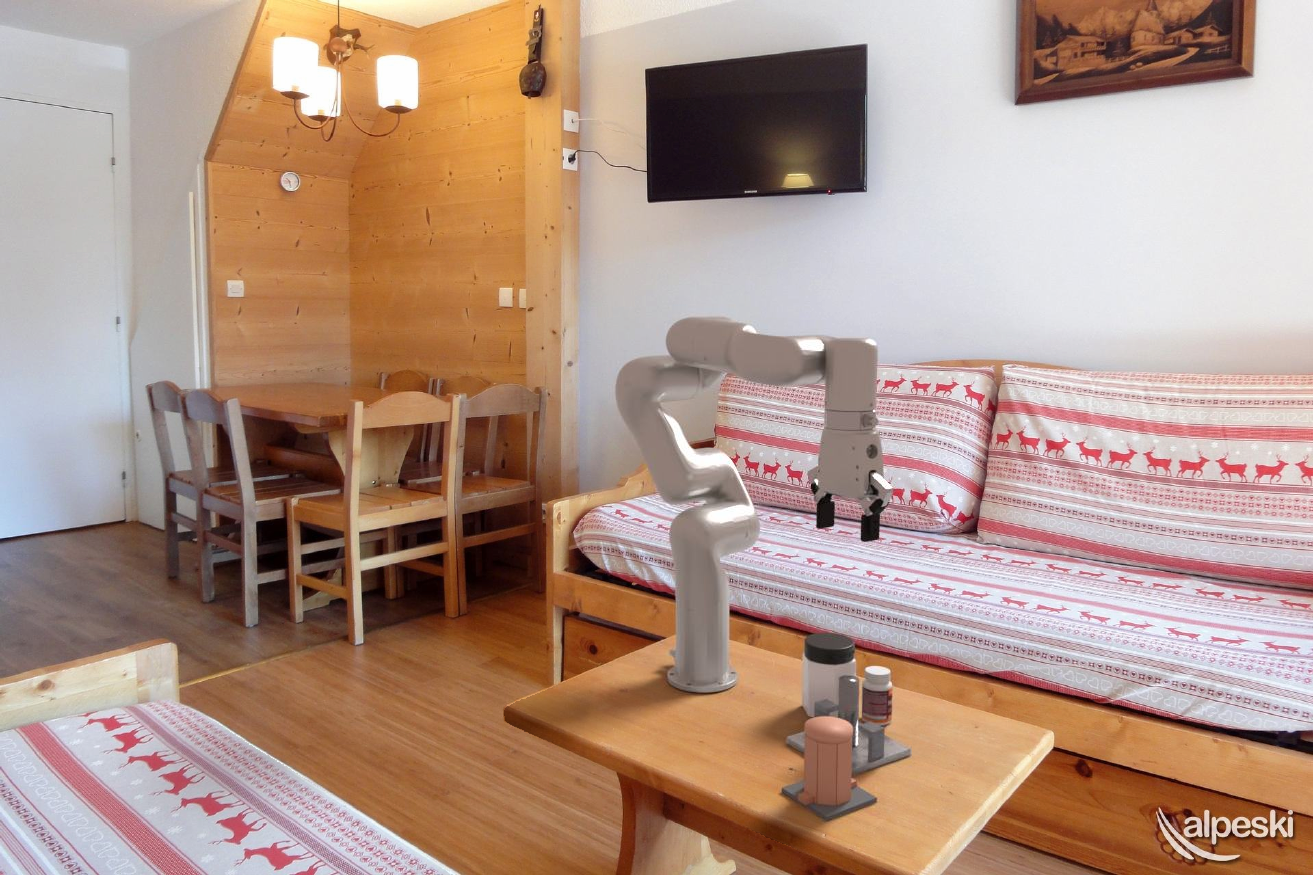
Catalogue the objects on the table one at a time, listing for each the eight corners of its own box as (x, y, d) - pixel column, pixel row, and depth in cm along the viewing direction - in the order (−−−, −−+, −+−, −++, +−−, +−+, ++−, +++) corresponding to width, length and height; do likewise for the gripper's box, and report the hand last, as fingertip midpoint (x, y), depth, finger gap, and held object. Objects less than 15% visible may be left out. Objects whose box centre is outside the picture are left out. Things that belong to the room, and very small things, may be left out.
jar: (825, 725, 149) (826, 653, 148) (791, 708, 156) (792, 638, 154) (865, 712, 154) (867, 642, 153) (830, 695, 161) (831, 628, 159)
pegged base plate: (786, 743, 143) (787, 674, 142) (849, 722, 150) (850, 657, 149) (845, 778, 132) (847, 703, 131) (910, 754, 139) (912, 683, 138)
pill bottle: (894, 726, 149) (896, 675, 148) (864, 726, 149) (865, 675, 148) (888, 713, 154) (889, 664, 153) (858, 713, 154) (859, 664, 153)
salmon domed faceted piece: (836, 774, 132) (837, 710, 131) (869, 793, 127) (870, 726, 126) (786, 792, 128) (786, 725, 126) (817, 813, 122) (818, 743, 121)
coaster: (781, 791, 129) (781, 787, 129) (830, 774, 134) (830, 770, 134) (826, 821, 121) (826, 816, 121) (876, 801, 126) (876, 797, 126)
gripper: (911, 425, 134) (907, 542, 136) (829, 414, 149) (827, 520, 151) (872, 429, 130) (869, 549, 133) (792, 417, 145) (790, 525, 147)
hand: (846, 533), depth 142 cm, fingers open, 9 cm apart
